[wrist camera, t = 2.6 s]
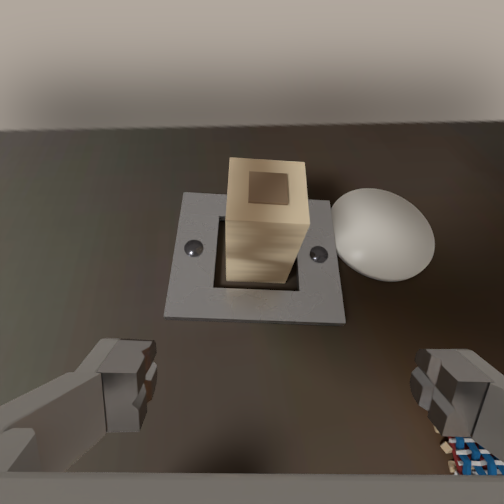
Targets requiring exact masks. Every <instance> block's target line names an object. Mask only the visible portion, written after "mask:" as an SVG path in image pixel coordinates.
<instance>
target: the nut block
mask: <svg viewBox="0 0 504 504" xmlns="http://www.w3.org/2000/svg"><path fill="white" fill-rule="evenodd" d="M225 226H226V281H241V282H264V283H286V280H287V278H288V276H289V273H290V271H291V268H292V266H293V264H294V261H295V259H296V257H297V254H298V252H299V249H300V247H301V245H302V242H303V240H304V238H305V235H306V233H307V231H308V228H309V226H310V217H309V206H308V195H307V183H306V172H305V162H293V161H278V160H262V159H247V158H231V157H230V164H229V177H228V191H227V205H226V219H225Z"/></svg>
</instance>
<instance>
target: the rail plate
mask: <svg viewBox="0 0 504 504" xmlns="http://www.w3.org/2000/svg"><path fill="white" fill-rule="evenodd" d="M226 205H227V195H223V194H206V193H189V192H184V194H183V200H182V206H181V213H180V219H179V225H178V231H177V237H176V244H175V250H174V256H173V262H172V268H171V275H170V281H169V287H168V293H167V300H166V306H165V312H164V318H165V319H166V320H191V321H218V322H245V323H273V324H300V325H327V326H343V325H344V324H346V321H345V313H344V305H343V298H342V290H341V283H340V275H339V268H338V260H337V252H336V245H335V237H334V230H333V222H332V215H331V207H330V201H326V200H308V206H309V217H310V226H309V228H308V231H307V233H306V235H305V238H304V240H303V242H302V245H301V247H300V249H299V252H298V254H297V257H296V276H297V291H281V290H257V289H234V288H214V278H215V266H216V254H217V243H218V231H219V221H225V219H226Z"/></svg>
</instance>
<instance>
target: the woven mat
mask: <svg viewBox="0 0 504 504" xmlns="http://www.w3.org/2000/svg"><path fill="white" fill-rule="evenodd" d="M434 428H435V432H436V433H439V431H438V430H437V429H436V427H435V426H434ZM448 439H449V441H444V442H443V443H442V444H441V445H440V447H441V448H442V449H443V450H444V451H445V453H446V454H448V453H453V457H454V461H451V460H449V461H448V465H449V469H450V472H454V473H455V474H454V475H504V463H503V462H502V461H501V460H499V459H498V458H497V457H495V456H494V455H493V454H491V453H490V452H489V451H487V450H486V449H485V448H483V447H482V446H481V445H479V444H478V443H477V442H475V441H474V440H473V439H472V437H451V436H448ZM471 453H472V455H471Z"/></svg>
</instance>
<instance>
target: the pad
mask: <svg viewBox="0 0 504 504" xmlns="http://www.w3.org/2000/svg"><path fill="white" fill-rule="evenodd" d="M331 215H332V222H333V230H334V237H335V245H336V252H337V255H338V256H339V257H340V258H341V260H342V261H343V262H344V263H346V264H347V265H348V266H349V267H350V268H352V269H353V270H355V271H356V272H358V273H360V274H362V275H364V276H366V277H369V278H372V279H375V280H380V281H387V282H396V281H403V280H406V279H409V278H412V277H414V276H415V275H417V274H418V273H420V272H421V271H422V270H423V269H425V268H426V267H427V265H428V264H429V263H430V261H431V259H432V257H433V254H434V249H435V241H434V235H433V232H432V229H431V227H430V225H429V223H428V221H427V220H426V218H425V217H424V216H423V214H422V213H421V212H420V211H419V210H418V209H417V208H416V207H415V206H414V205H413V204H411V203H410V202H408V201H407V200H405V199H404V198H402V197H400V196H398V195H396V194H394V193H391V192H388V191H385V190H380V189H372V188H363V189H357V190H353V191H350V192H348V193H346V194H344V195H343V196H341V197H340V198H339V199H338V200H337V201H336V202H335V203H334V205H333V206H332V208H331Z"/></svg>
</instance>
